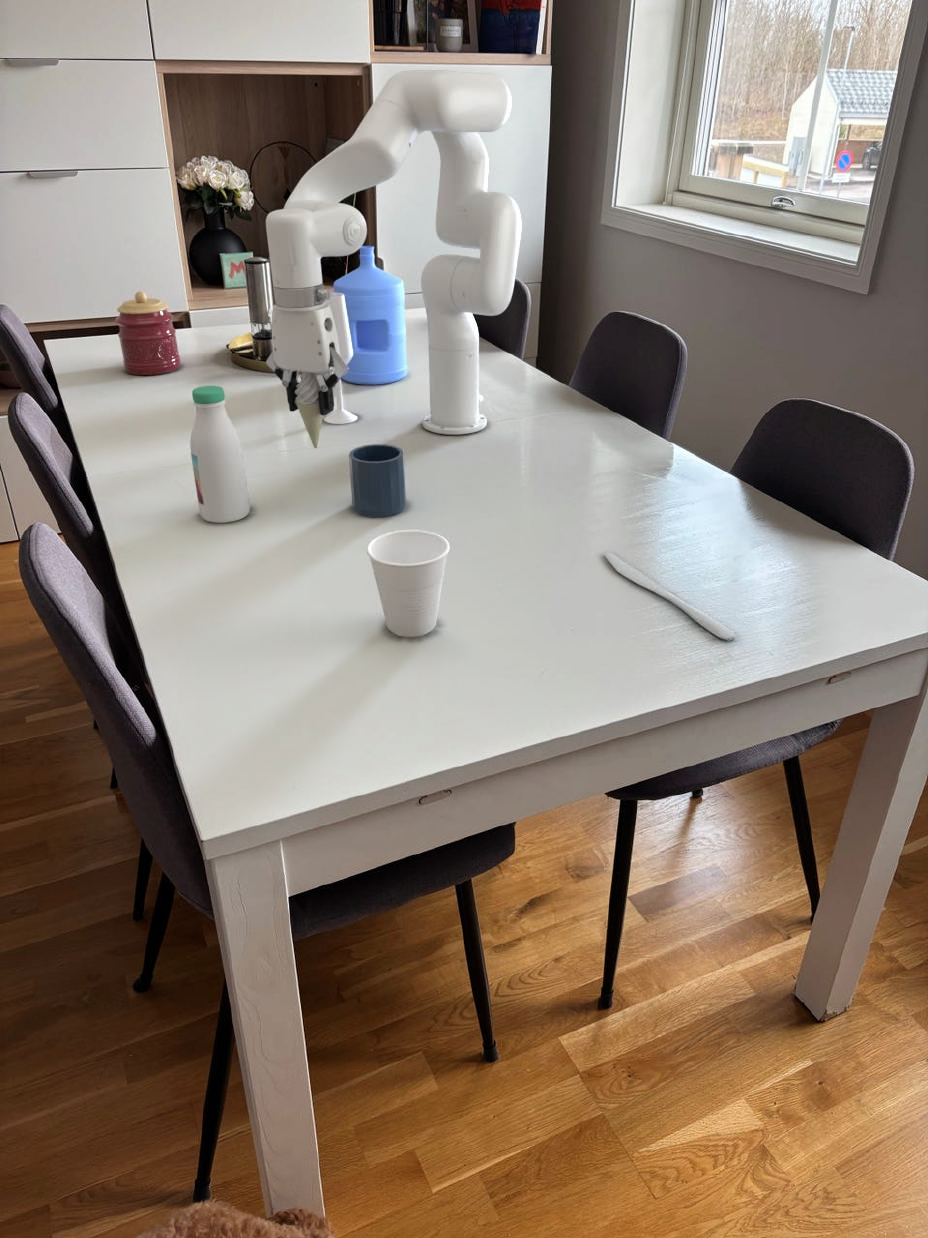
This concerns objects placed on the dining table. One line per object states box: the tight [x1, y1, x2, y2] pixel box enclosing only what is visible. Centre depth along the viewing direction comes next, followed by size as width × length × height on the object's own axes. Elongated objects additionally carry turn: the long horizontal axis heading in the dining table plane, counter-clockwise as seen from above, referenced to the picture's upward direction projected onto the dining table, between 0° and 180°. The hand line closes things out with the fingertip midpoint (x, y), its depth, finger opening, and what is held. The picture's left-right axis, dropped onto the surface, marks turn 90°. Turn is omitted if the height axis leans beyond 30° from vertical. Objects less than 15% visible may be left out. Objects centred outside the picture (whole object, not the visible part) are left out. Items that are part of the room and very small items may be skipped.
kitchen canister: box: [114, 291, 181, 376], centre depth 222 cm, size 13×13×18 cm
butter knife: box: [604, 552, 736, 641], centre depth 125 cm, size 1×27×3 cm
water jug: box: [332, 245, 408, 386], centre depth 212 cm, size 16×16×28 cm
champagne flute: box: [323, 292, 358, 425], centre depth 186 cm, size 7×7×24 cm
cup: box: [365, 529, 450, 638], centre depth 116 cm, size 10×10×11 cm
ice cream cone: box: [295, 372, 323, 449], centre depth 155 cm, size 5×5×15 cm
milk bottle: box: [189, 385, 251, 524], centre depth 145 cm, size 8×8×20 cm
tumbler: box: [348, 443, 407, 518], centre depth 150 cm, size 8×8×9 cm
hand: (311, 409), depth 156 cm, fingers closed on ice cream cone, 5 cm apart
